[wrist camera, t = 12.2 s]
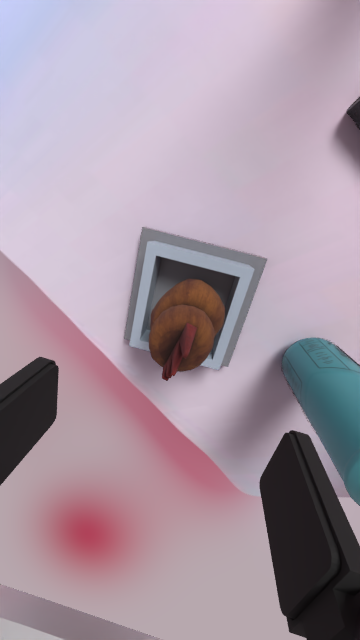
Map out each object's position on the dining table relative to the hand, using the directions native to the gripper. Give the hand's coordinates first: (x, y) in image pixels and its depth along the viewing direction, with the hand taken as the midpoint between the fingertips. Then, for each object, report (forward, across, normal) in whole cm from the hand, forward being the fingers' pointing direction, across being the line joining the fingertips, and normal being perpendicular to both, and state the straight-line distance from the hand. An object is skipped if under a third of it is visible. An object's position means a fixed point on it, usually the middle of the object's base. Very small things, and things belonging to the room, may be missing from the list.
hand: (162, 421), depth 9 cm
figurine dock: (+19, +1, 0) cm, 19 cm away
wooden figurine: (+18, +1, 0) cm, 18 cm away
